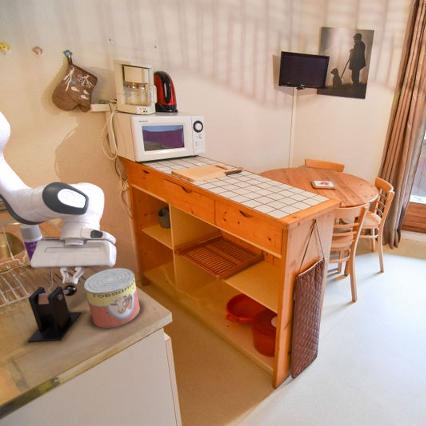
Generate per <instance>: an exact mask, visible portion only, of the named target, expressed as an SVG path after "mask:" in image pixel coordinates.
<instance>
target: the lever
mask: <svg viewBox="0 0 426 426" xmlns="http://www.w3.org/2000/svg"><path fill="white" fill-rule="evenodd" d="M62 289H63V292H64V296H65V297H73V296H74V295H76V294H77V293H78V287H77V286H76V285H75V284H66V285H65V286H64V287H62ZM52 292H53V291H45V293H42V294H39V302H38V304H49V302H48V298H47V297H48V296H49V295H50V294H51V293H52Z"/></svg>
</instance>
